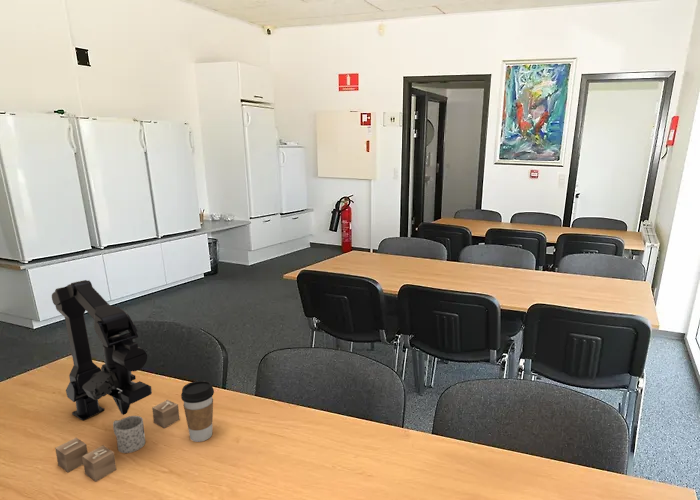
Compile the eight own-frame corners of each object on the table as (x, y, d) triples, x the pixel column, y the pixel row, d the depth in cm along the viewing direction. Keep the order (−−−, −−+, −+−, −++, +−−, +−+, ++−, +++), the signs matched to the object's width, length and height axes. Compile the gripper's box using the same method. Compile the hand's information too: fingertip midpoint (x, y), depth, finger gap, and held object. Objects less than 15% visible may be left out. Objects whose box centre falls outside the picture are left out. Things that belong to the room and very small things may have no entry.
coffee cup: (207, 446, 119) (203, 395, 116) (178, 442, 121) (173, 392, 118) (222, 428, 127) (218, 379, 124) (195, 424, 129) (191, 376, 126)
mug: (150, 441, 121) (148, 419, 120) (128, 456, 115) (125, 433, 114) (126, 431, 126) (124, 410, 124) (104, 444, 120) (101, 422, 119)
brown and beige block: (153, 423, 130) (152, 406, 129) (168, 414, 134) (167, 399, 133) (164, 428, 127) (162, 412, 126) (179, 419, 131) (178, 403, 130)
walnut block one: (58, 465, 112) (55, 447, 111) (78, 454, 116) (76, 436, 115) (68, 472, 110) (65, 454, 108) (88, 461, 114) (86, 443, 113)
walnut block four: (85, 474, 109) (82, 455, 108) (105, 462, 113) (102, 444, 112) (95, 482, 106) (93, 463, 105) (116, 470, 111) (113, 451, 109)
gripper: (66, 362, 114) (74, 417, 117) (106, 382, 104) (114, 441, 107) (109, 347, 123) (115, 398, 126) (149, 363, 113) (156, 419, 116)
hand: (124, 413), depth 119 cm, fingers closed
